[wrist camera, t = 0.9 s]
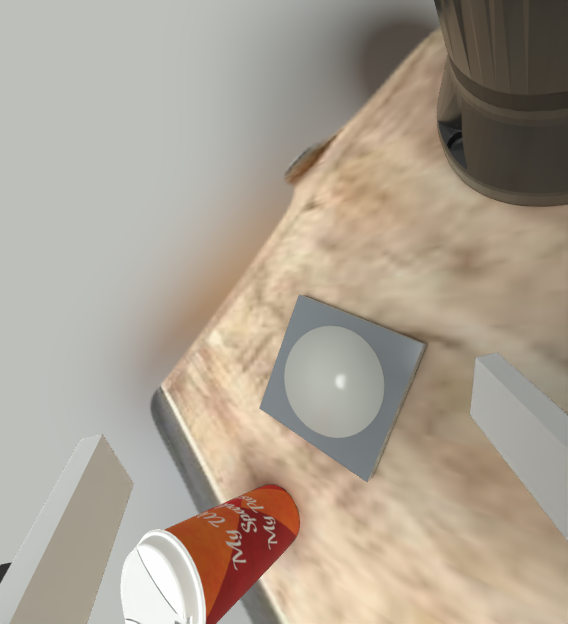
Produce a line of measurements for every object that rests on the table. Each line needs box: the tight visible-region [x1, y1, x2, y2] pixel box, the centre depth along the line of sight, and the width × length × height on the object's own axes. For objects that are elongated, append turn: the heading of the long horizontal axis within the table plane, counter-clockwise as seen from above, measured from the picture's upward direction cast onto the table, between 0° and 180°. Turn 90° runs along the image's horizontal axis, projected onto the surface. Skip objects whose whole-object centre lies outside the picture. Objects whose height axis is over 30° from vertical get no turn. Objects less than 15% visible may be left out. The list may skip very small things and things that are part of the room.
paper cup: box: [121, 485, 300, 624], centre depth 28 cm, size 8×8×14 cm
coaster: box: [260, 295, 427, 482], centre depth 30 cm, size 12×12×1 cm
